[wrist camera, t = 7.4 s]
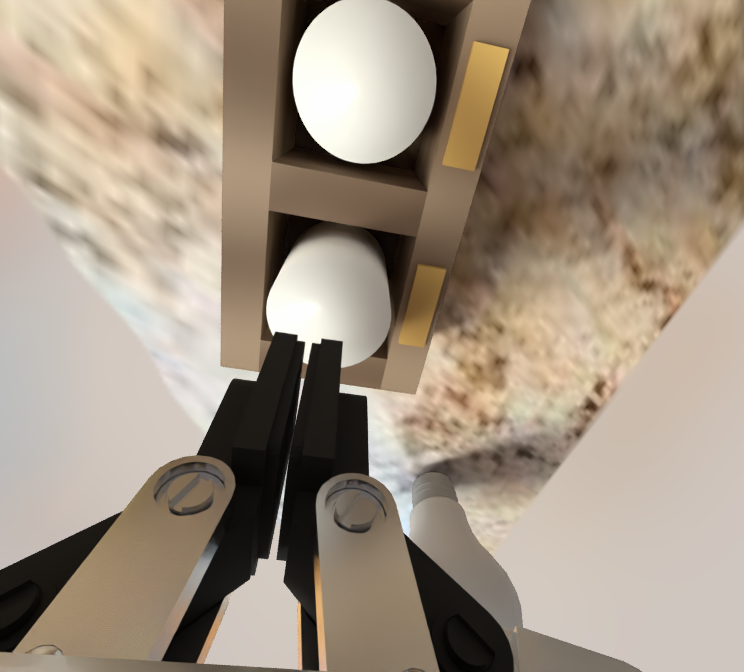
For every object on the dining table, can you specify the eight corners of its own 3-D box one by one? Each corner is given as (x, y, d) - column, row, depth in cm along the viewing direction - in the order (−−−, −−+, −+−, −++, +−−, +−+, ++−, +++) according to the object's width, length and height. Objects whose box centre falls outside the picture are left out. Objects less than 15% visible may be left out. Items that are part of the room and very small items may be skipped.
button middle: (318, 10, 14) (300, -22, 11) (431, 36, 15) (453, 15, 11) (305, 138, 16) (287, 149, 12) (406, 158, 17) (417, 175, 13)
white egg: (293, 211, 16) (270, 245, 12) (395, 230, 16) (403, 269, 13) (284, 305, 18) (262, 359, 14) (376, 319, 18) (378, 376, 15)
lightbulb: (433, 521, 28) (466, 735, 19) (362, 482, 27) (358, 699, 17) (500, 471, 26) (576, 686, 17) (427, 424, 24) (465, 637, 15)
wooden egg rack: (282, -419, 11) (227, -746, 6) (579, -322, 11) (698, -558, 7) (248, 315, 21) (219, 369, 17) (406, 340, 21) (415, 397, 17)
